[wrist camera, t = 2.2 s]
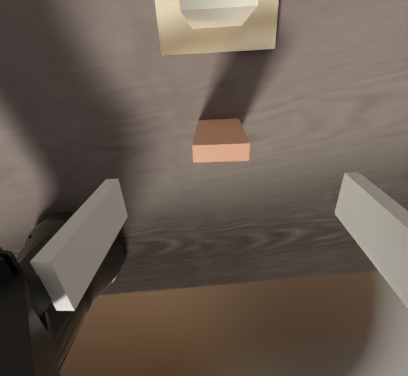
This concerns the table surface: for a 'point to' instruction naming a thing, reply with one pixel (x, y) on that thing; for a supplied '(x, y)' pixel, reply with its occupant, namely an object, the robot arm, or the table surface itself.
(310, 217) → the table surface
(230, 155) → the domino
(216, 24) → the domino
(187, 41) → the board
